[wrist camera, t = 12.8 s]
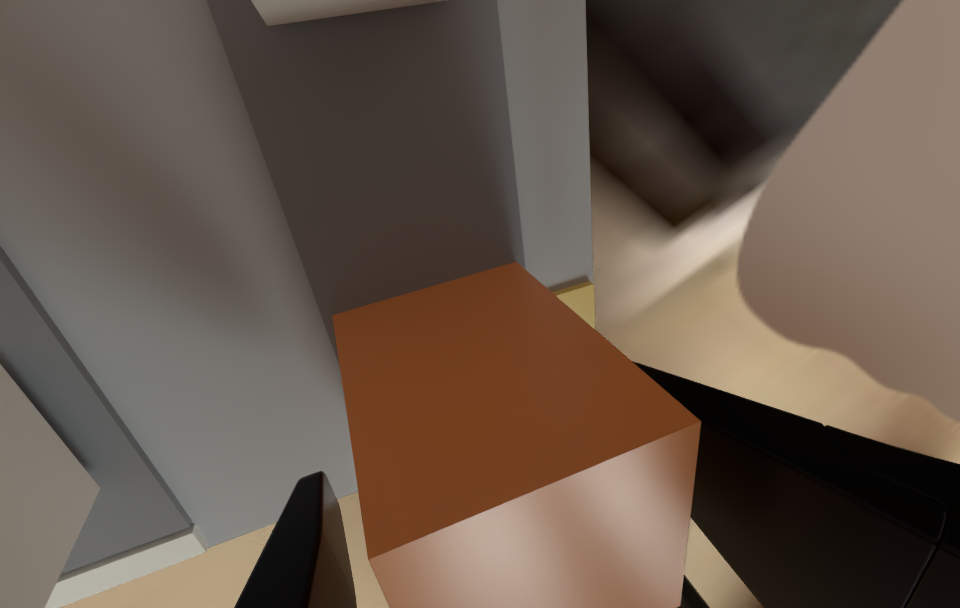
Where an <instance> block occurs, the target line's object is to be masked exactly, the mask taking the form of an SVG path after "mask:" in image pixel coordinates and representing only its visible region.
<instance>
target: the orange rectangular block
mask: <svg viewBox="0 0 960 608" xmlns="http://www.w3.org/2000/svg"><path fill="white" fill-rule="evenodd" d="M332 317H333V324H334V331H335V338H336V344H337V351H338V358H339V365H340V372H341V378H342V385H343V392H344V399H345V405H346V412H347V419H348V426H349V432H350V439H351V446H352V453H353V459H354V466H355V473H356V480H357V486H358V493H359V500H360V507H361V513H362V520H363V527H364V534H365V540H366V547H367V554H368V560H369V562H370V565H371V567H372V569H373V571H374V574H375V576H376V578H377V580H378V583H379V585H380V587H381V589H382V592H383V594H384V596H385V598H386V601H387V603H388V605H389V607H390V608H677V607H679V606H680V604H681V595H682V587H683V578H684V569H685V560H686V551H687V542H688V533H689V525H690V516H691V507H692V498H693V489H694V480H695V472H696V463H697V454H698V445H699V436H700V427H701V421H700V420H699V419H698V418H697V417H695V416H694V415H693V414H692V413H691V412H690V411H689V410H687V409H686V408H685V407H684V406H683V405H682V404H680V403H679V402H678V401H677V400H676V399H675V398H674V397H672V396H671V395H670V394H669V393H668V392H667V391H665V390H664V389H663V388H662V387H661V386H660V385H658V384H657V383H656V382H655V381H654V380H653V379H652V378H650V377H649V376H648V375H647V374H646V373H645V372H643V371H642V370H641V369H640V368H639V367H638V366H636V365H635V364H634V363H633V362H632V361H631V360H630V359H628V358H627V357H626V356H625V355H624V354H623V353H621V352H620V351H619V350H618V349H617V348H616V347H615V346H613V345H612V344H611V343H610V342H609V341H608V340H606V339H605V338H604V337H603V336H602V335H601V334H599V333H598V332H597V331H596V330H595V329H594V328H593V327H591V326H590V325H589V324H588V323H587V322H586V321H584V320H583V319H582V318H581V317H580V316H579V315H577V314H576V313H575V312H574V311H573V310H572V309H571V308H569V307H568V306H567V305H566V304H565V303H564V302H562V301H561V300H560V299H559V298H558V297H557V296H555V295H554V294H553V293H552V292H551V291H550V290H549V289H547V288H546V287H545V286H544V285H543V284H542V283H540V282H539V281H538V280H537V279H536V278H535V277H534V276H532V275H531V274H530V273H529V272H528V271H527V270H525V269H524V268H523V267H522V266H521V265H520V264H518V263H517V262H513V263H510V264H506V265H503V266H499V267H496V268H493V269H489V270H486V271H482V272H479V273H475V274H472V275H469V276H465V277H462V278H458V279H455V280H451V281H448V282H445V283H441V284H438V285H434V286H431V287H427V288H424V289H421V290H417V291H414V292H410V293H407V294H403V295H400V296H396V297H393V298H390V299H386V300H383V301H379V302H376V303H372V304H369V305H366V306H362V307H359V308H355V309H352V310H348V311H345V312H342V313H338V314H335V315H332Z"/></svg>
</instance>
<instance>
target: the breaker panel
mask: <svg viewBox="0 0 960 608" xmlns="http://www.w3.org/2000/svg"><path fill="white" fill-rule="evenodd" d="M513 262H517V263H518V264H520V265H521V266H522V267H523V268H524V269H525V270H527V271H528V272H529V273H530V274H531V275H532V276H534V277H535V278H536V279H537V280H538V281H539V282H540V283H542V284H543V285H544V286H545V287H546V288H547V289H549V290H550V291H551V292H552V293H553V294H554V295H555V296H557V297H558V298H559V299H560V300H561V301H562V302H564V303H565V304H566V305H567V306H568V307H569V308H571V309H572V310H573V311H574V312H575V313H576V314H577V315H579V316H580V317H581V318H582V319H583V320H584V321H586V322H587V323H588V324H589V325H590V326H591V327H593V328H594V329H595V303H594V284H593V256H592V220H591V184H590V148H589V112H588V76H587V40H586V4H585V0H448V1H441V2H434V3H427V4H420V5H413V6H406V7H399V8H392V9H385V10H378V11H371V12H364V13H357V14H350V15H343V16H336V17H329V18H322V19H315V20H308V21H301V22H294V23H287V24H280V25H273V26H267V25H266V23H265V22H264V20H263V18H262V17H261V15H260V14H259V12H258V11H257V9H256V7H255V6H254V4H253V3H252V1H251V0H0V364H1V365H2V367H3V368H4V369H5V370H6V372H7V373H8V374H9V375H10V377H11V378H12V379H13V380H14V382H15V383H16V384H17V385H18V387H19V388H20V389H21V390H22V392H23V393H24V394H25V395H26V396H27V398H28V399H29V400H30V401H31V403H32V404H33V405H34V406H35V408H36V409H37V410H38V411H39V413H40V414H41V415H42V416H43V418H44V419H45V420H46V421H47V423H48V424H49V425H50V426H51V428H52V429H53V430H54V431H55V432H56V434H57V435H58V436H59V437H60V439H61V440H62V441H63V442H64V444H65V445H66V446H67V447H68V449H69V450H70V451H71V452H72V454H73V455H74V456H75V457H76V459H77V460H78V461H79V462H80V464H81V465H82V466H83V467H84V469H85V470H86V471H87V472H88V473H89V475H90V476H91V477H92V478H93V480H94V481H95V482H96V483H97V485H98V486H99V487H100V491H99V493H98V495H97V497H96V499H95V501H94V503H93V506H92V508H91V510H90V512H89V514H88V516H87V518H86V521H85V523H84V525H83V527H82V529H81V531H80V533H79V536H78V538H77V540H76V542H75V544H74V546H73V548H72V550H71V553H70V555H69V557H68V559H67V561H66V563H65V565H64V568H63V570H62V572H61V574H60V576H59V578H58V580H57V583H56V585H55V587H54V589H53V591H52V593H51V595H50V598H49V600H48V602H47V604H46V606H45V608H60V607H62V606H65V605H68V604H70V603H73V602H76V601H78V600H81V599H84V598H86V597H89V596H92V595H94V594H97V593H99V592H102V591H105V590H107V589H110V588H113V587H115V586H118V585H121V584H123V583H126V582H129V581H131V580H134V579H136V578H139V577H142V576H144V575H147V574H150V573H152V572H155V571H158V570H160V569H163V568H166V567H168V566H171V565H173V564H176V563H179V562H181V561H184V560H187V559H189V558H192V557H195V556H197V555H200V554H203V553H205V552H206V551H207V548H209V547H212V546H215V545H217V544H220V543H223V542H225V541H228V540H231V539H233V538H236V537H239V536H241V535H244V534H247V533H249V532H252V531H255V530H257V529H260V528H263V527H265V526H268V525H270V524H273V523H276V522H277V521H278V519H279V517H280V515H281V513H282V511H283V509H284V507H285V505H286V503H287V501H288V499H289V497H290V495H291V493H292V491H293V489H294V487H295V485H296V483H297V481H298V480H299V479H300V478H302V477H304V476H307V475H310V474H312V473H315V472H318V471H323V472H324V473H325V474H326V476H327V478H328V480H329V482H330V485H331V487H332V489H333V492H334V494H335V496H336V498H337V499H339V498H342V497H345V496H347V495H350V494H353V493H355V492H358V486H357V480H356V473H355V466H354V459H353V453H352V446H351V439H350V432H349V426H348V419H347V412H346V405H345V399H344V392H343V385H342V378H341V372H340V365H339V358H338V351H337V344H336V338H335V331H334V324H333V317H332V315H335V314H338V313H342V312H345V311H348V310H352V309H355V308H359V307H362V306H366V305H369V304H372V303H376V302H379V301H383V300H386V299H390V298H393V297H396V296H400V295H403V294H407V293H410V292H414V291H417V290H421V289H424V288H427V287H431V286H434V285H438V284H441V283H445V282H448V281H451V280H455V279H458V278H462V277H465V276H469V275H472V274H475V273H479V272H482V271H486V270H489V269H493V268H496V267H499V266H503V265H506V264H510V263H513Z"/></svg>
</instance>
